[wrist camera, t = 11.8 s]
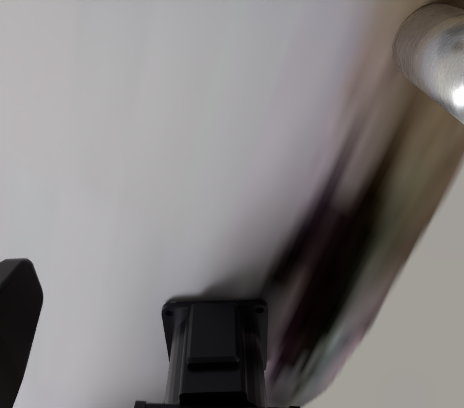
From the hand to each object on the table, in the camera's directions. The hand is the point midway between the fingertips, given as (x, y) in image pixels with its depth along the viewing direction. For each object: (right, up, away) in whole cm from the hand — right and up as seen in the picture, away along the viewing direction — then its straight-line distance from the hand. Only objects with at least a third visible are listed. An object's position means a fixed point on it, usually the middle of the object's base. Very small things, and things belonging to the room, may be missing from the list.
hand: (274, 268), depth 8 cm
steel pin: (+8, +8, +11) cm, 15 cm away
